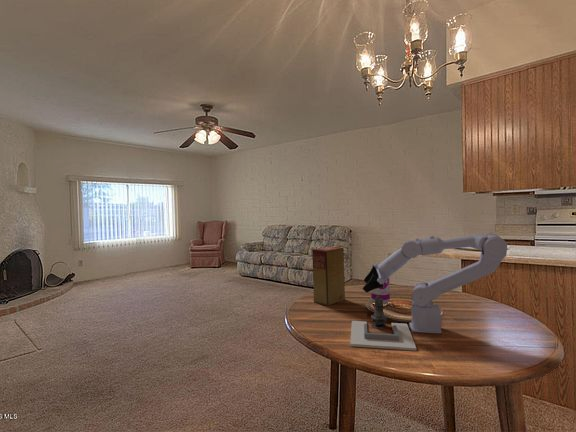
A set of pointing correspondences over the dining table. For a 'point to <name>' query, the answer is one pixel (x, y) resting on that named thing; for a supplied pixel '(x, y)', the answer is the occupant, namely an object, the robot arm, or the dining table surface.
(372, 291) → the supplement can
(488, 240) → the robot arm
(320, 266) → the food packaging
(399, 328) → the board
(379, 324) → the black chess piece
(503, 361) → the dining table surface
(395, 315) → the dining table surface
